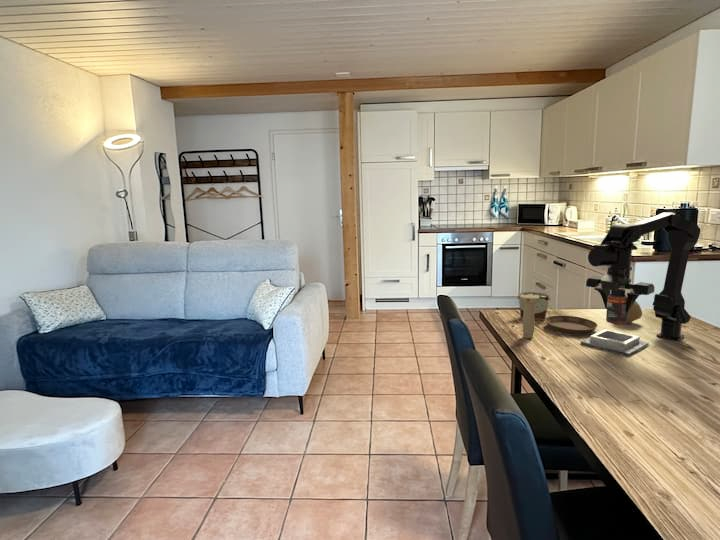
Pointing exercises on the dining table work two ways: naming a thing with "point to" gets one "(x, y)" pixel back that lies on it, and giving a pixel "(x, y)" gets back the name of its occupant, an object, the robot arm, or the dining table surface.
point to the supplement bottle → (617, 307)
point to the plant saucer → (571, 325)
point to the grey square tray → (615, 342)
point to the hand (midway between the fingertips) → (617, 310)
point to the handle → (528, 314)
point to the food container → (536, 305)
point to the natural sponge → (634, 313)
